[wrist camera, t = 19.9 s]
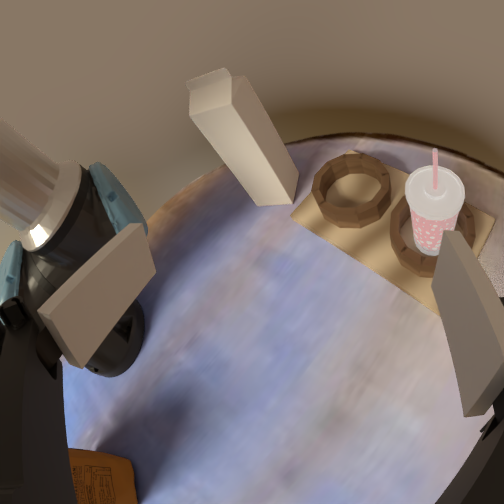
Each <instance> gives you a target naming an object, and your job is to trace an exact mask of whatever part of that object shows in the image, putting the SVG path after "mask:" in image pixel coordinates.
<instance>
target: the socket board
mask: <svg viewBox="0 0 504 504" xmlns="http://www.w3.org/2000/svg"><path fill="white" fill-rule="evenodd" d="M409 176H410V175H409V174H407V173H405V172H403V171H400V170H398V169H396V168H393V167H391V166H389V165H386V164H384V163H382V162H381V161H380V160H378V159H376V158H373V157H371V156H368V155H366V154H363V153H360V154H359V153H357V152H354V151H351V150H348V151H347V152H346V153H345V154H343V155H341V156H339V157H337V158H335V159H332V160H330V161H328V162H326V163H325V164H324V166H323V167H322V168H321V169H320V170H319V171H318V172H317V173H316V174H315V176H314V181H313V185H312V190H311V193H310V194H309V195H308V196H307V197H306V198H305V199H304V200H303V201H302V203H301V204H300V205H299V206H298V207H297V208H296V209H295V210H294V212H293V213H292V214H291V215H290V216H291V218H292V219H293V220H294V221H295V222H297V223H299V224H300V225H302V226H303V227H305V228H307V229H308V230H310V231H312V232H313V233H315V234H316V235H318V236H320V237H321V238H323V239H324V240H326V241H328V242H329V243H331V244H332V245H334V246H336V247H337V248H339V249H340V250H342V251H343V252H345V253H347V254H348V255H350V256H351V257H353V258H354V259H356V260H357V261H359V262H361V263H362V264H364V265H365V266H367V267H368V268H370V269H371V270H373V271H374V272H376V273H377V274H379V275H380V276H382V277H383V278H385V279H386V280H388V281H389V282H391V283H392V284H394V285H395V286H397V287H398V288H400V289H401V290H403V291H404V292H406V293H407V294H409V295H410V296H412V297H413V298H414V299H416V300H417V301H419V302H420V303H422V304H423V305H425V306H426V307H427V308H429V309H430V310H432V311H433V312H435V313H436V314H437V315H439V316H440V312H439V309H438V306H437V303H436V300H435V297H434V294H433V291H432V288H431V284H432V280H433V276H434V272H435V268H436V263H437V259H438V255H436V256H432V255H427V254H425V253H422V252H421V251H420V250H419V249H418V248H417V246H416V244H415V241H414V234H413V226H412V219H411V212H410V206H409V204H408V202H407V199H406V195H405V183H406V181H407V179H408V177H409ZM494 222H495V219H494V218H493V217H491V216H489V215H488V214H486V213H484V212H482V211H481V210H479V209H477V208H475V207H473V206H472V205H470V204H468V203H466V202H463V205H462V207H461V210H460V211H459V214H458V217H457V221H456V225H455V229H454V231H460V233H461V234H462V236H463V237H464V239H465V240H466V242H467V243H468V245H469V246H470V248H471V250H472V251H473V253H474V254H475V256H476V258H478V256H479V254H480V252H481V250H482V248H483V246H484V244H485V242H486V240H487V238H488V236H489V234H490V232H491V229H492V227H493V225H494ZM440 317H441V316H440Z"/></svg>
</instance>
